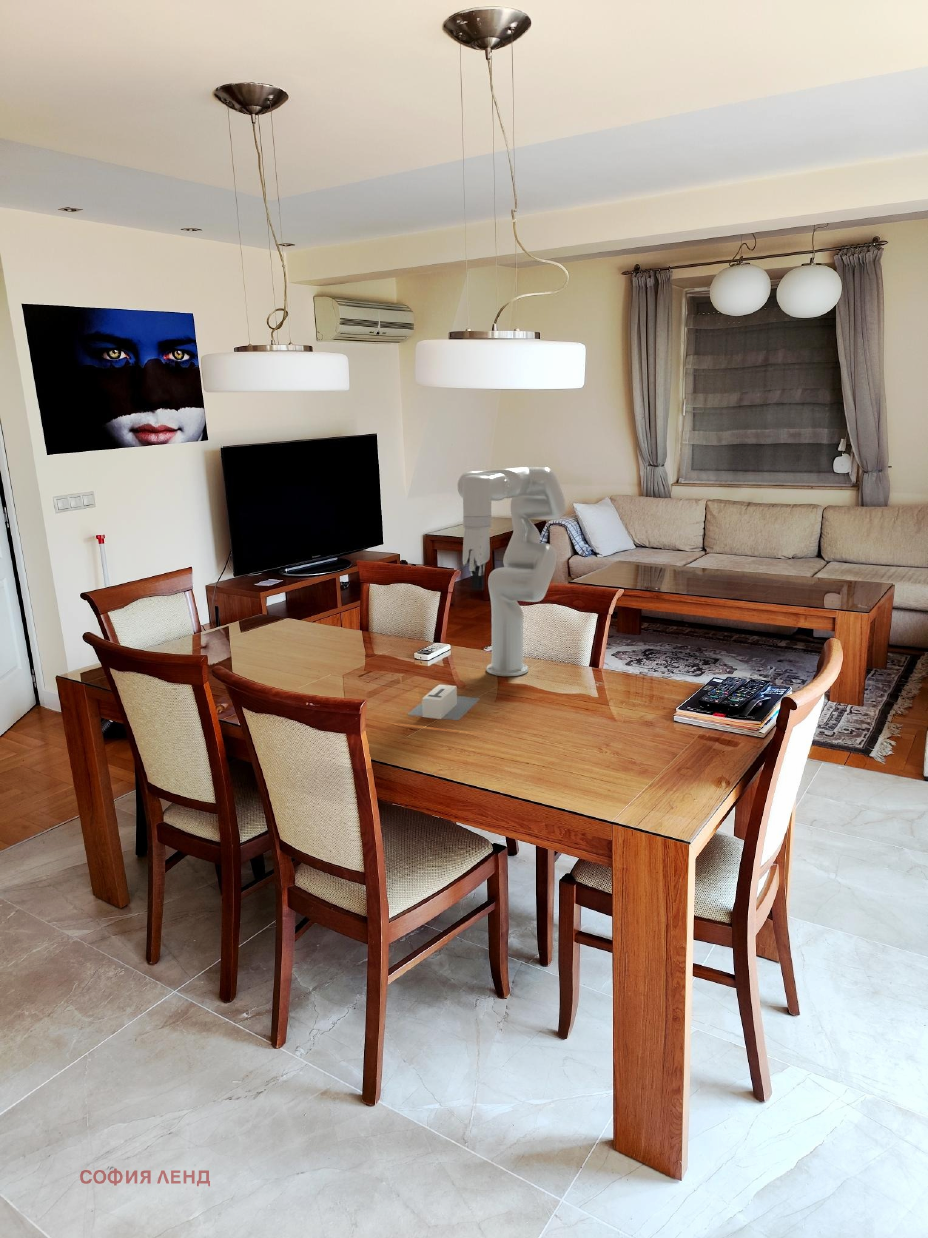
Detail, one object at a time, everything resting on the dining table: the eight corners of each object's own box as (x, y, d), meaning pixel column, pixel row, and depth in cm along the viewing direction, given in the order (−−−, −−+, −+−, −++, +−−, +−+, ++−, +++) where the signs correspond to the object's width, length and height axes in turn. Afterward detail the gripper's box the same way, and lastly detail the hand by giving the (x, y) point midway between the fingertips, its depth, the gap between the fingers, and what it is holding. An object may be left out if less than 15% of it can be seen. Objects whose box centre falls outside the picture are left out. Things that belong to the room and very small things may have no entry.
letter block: (439, 683, 225) (422, 697, 214) (456, 685, 224) (440, 699, 213) (439, 702, 226) (422, 717, 215) (456, 704, 225) (440, 719, 214)
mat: (432, 695, 234) (432, 693, 234) (480, 700, 230) (480, 698, 229) (407, 716, 218) (407, 714, 217) (458, 722, 213) (458, 720, 213)
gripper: (472, 518, 234) (473, 583, 238) (454, 525, 220) (455, 594, 225) (498, 519, 232) (498, 585, 236) (482, 526, 218) (482, 595, 222)
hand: (477, 589), depth 230 cm, fingers closed
